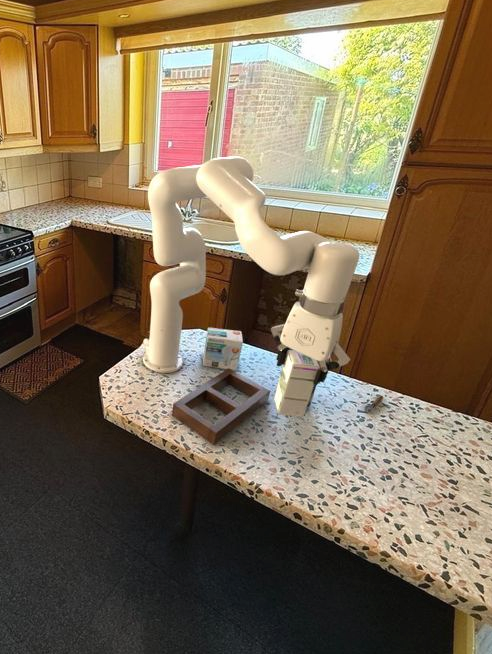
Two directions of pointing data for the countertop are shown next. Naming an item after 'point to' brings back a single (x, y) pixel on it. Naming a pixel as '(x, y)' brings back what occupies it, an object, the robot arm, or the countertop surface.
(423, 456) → the countertop surface
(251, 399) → the caddy
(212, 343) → the light bulb box
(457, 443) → the countertop surface
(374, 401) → the can opener
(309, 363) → the syrup box
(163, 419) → the countertop surface
